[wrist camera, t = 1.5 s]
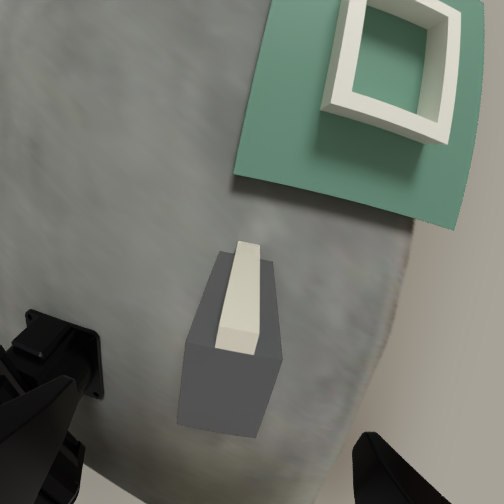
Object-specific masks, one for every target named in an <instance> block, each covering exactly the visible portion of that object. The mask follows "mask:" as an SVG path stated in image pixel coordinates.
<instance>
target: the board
mask: <svg viewBox="0 0 504 504" xmlns="http://www.w3.org/2000/svg"><path fill="white" fill-rule="evenodd" d="M483 65H484V3H483V2H481V1H480V0H272V3H271V7H270V11H269V15H268V19H267V23H266V27H265V32H264V36H263V40H262V44H261V48H260V53H259V57H258V61H257V65H256V70H255V74H254V79H253V83H252V88H251V92H250V97H249V101H248V106H247V110H246V115H245V119H244V124H243V129H242V134H241V138H240V143H239V148H238V153H237V158H236V163H235V168H234V172H233V174H236V175H241V176H246V177H251V178H256V179H260V180H265V181H270V182H275V183H279V184H284V185H288V186H293V187H297V188H301V189H306V190H310V191H314V192H318V193H323V194H327V195H331V196H335V197H339V198H343V199H347V200H350V201H354V202H358V203H362V204H366V205H369V206H373V207H377V208H380V209H384V210H388V211H391V212H395V213H398V214H402V215H405V216H408V217H412V218H415V219H419V220H422V221H425V222H428V223H432V224H435V225H438V226H441V227H444V228H447V229H451V230H454V228H455V225H456V222H457V218H458V215H459V211H460V207H461V203H462V199H463V196H464V191H465V187H466V183H467V179H468V174H469V169H470V164H471V160H472V155H473V149H474V144H475V138H476V131H477V125H478V118H479V109H480V100H481V91H482V80H483Z"/></svg>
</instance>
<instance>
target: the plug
mask: <svg viewBox="0 0 504 504" xmlns="http://www.w3.org/2000/svg"><path fill="white" fill-rule="evenodd" d="M282 360H283V358H282V348H281V338H280V327H279V317H278V307H277V298H276V288H275V279H274V269H273V262H271V261H266V260H261V259H260V245H257V244H252V243H247V242H242V241H238V244H237V249H236V253H235V254H231V253H226V252H221V251H220V252H219V254H218V257H217V259H216V262H215V265H214V267H213V270H212V272H211V275H210V278H209V280H208V283H207V286H206V288H205V291H204V293H203V296H202V299H201V301H200V304H199V307H198V309H197V312H196V315H195V318H194V320H193V323H192V326H191V328H190V331H189V334H188V337H187V339H186V343H185V351H184V360H183V369H182V378H181V387H180V397H179V407H178V417H177V424H179V425H184V426H188V427H193V428H198V429H202V430H208V431H213V432H218V433H224V434H230V435H236V436H243V437H250V438H256V436H257V433H258V430H259V427H260V425H261V422H262V419H263V416H264V413H265V410H266V408H267V405H268V402H269V399H270V396H271V393H272V390H273V387H274V384H275V381H276V378H277V375H278V372H279V369H280V366H281V363H282Z"/></svg>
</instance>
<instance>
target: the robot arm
mask: <svg viewBox="0 0 504 504" xmlns="http://www.w3.org/2000/svg"><path fill="white" fill-rule="evenodd" d="M31 316H32V317H31ZM25 317H26V324H27V328H26V329H25V330H24V331H22V332H21V333H20V334H19V335H18V336H17V337H16V338H15V339H14V340H13V341H12V342H11V343H12V346H11V347H10V348H9V349H8V350H7V351H5V350H4V348H3V347H2V345H0V504H73V503H74V502H75V500H76V498H77V496H78V493H79V488H80V480H81V473H82V467H83V460H84V454H85V446H84V445H83V444H82V443H81V442H80V441H77V440H76V439H75V438H74V437H73V436H72V434H71V433H70V432H69V431H68V428H69V425H70V422H71V419H72V417H73V414H74V412H75V409H76V406H77V404H78V402H79V400H80V399H81V397H82V396H83V394H85V395H88V396H90V397H93V398H96V399H101V398H102V396H103V394H104V393H103V383H102V372H101V359H100V344H99V335H98V334H97V333H96V332H95V331H93V330H91V329H87V328H84V327H81V326H78V325H75V324H72V323H69V322H66V321H63V320H60V319H58V318H55V317H52V316H49V315H46V314H43V313H41V312H38V311H35V310H33V309H29V310H28V311H27V312H26V313H25ZM90 336H91V337H93V339H92V338H91V337H90ZM352 461H353V488H354V498H355V504H451V503H450V502H449V501H448V500H447V499H446V498H445V497H444V496H442V495H441V494H440V493H439V492H438V491H437V490H436V489H435V488H434V487H433V486H432V485H431V484H429V483H428V482H427V481H426V480H425V479H424V478H423V477H422V476H421V475H420V474H419V473H418V472H417V471H416V470H415V469H414V468H413V467H412V466H410V465H409V464H408V463H407V462H406V461H405V460H404V459H403V458H402V457H401V456H400V455H399V454H398V453H397V452H396V451H395V450H394V449H393V448H392V447H391V446H390V445H389V444H388V443H387V442H386V441H385V440H384V439H383V438H382V437H381V436H380V435H379V434H378V433H376V432H364V433H362V435H361V437H360V438H359V439H358V441H357V442H356V444H355V445H354V447H353V451H352Z"/></svg>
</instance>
